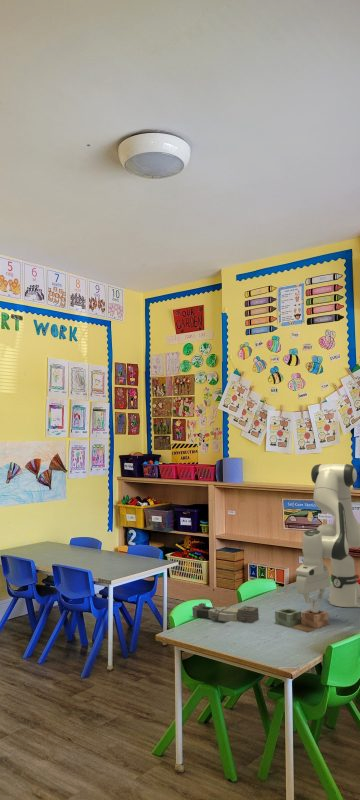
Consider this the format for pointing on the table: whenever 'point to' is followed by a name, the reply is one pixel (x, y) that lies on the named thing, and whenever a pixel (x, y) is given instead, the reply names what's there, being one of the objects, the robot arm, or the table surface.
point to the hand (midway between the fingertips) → (314, 600)
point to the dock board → (301, 619)
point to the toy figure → (226, 613)
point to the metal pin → (314, 607)
